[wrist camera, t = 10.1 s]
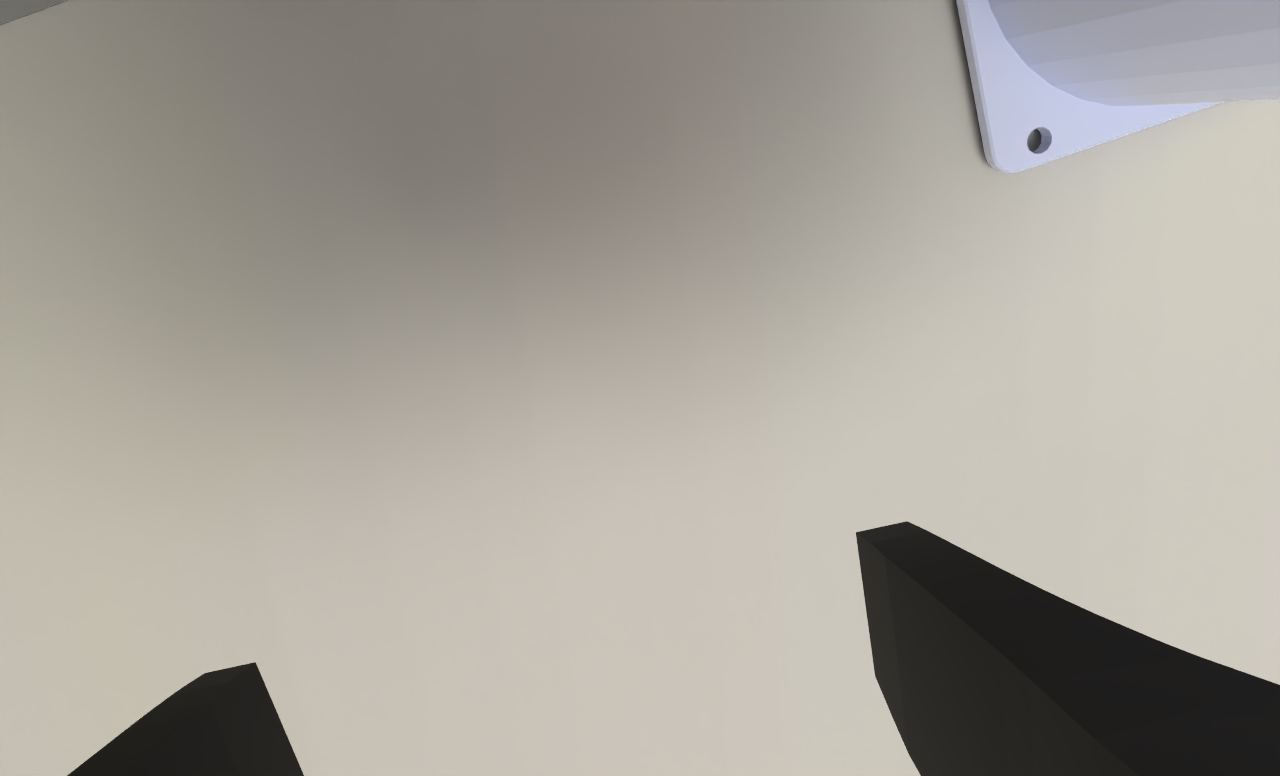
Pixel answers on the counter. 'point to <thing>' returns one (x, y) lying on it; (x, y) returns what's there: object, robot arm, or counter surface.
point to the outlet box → (22, 8)
